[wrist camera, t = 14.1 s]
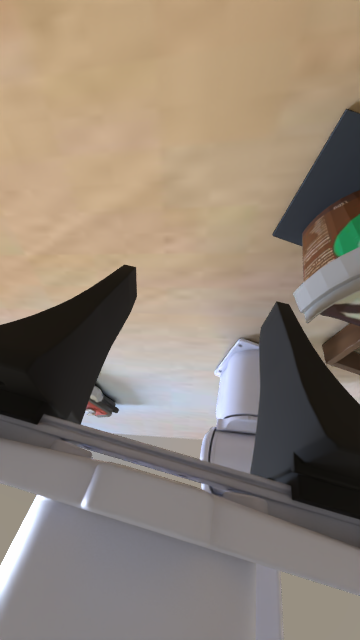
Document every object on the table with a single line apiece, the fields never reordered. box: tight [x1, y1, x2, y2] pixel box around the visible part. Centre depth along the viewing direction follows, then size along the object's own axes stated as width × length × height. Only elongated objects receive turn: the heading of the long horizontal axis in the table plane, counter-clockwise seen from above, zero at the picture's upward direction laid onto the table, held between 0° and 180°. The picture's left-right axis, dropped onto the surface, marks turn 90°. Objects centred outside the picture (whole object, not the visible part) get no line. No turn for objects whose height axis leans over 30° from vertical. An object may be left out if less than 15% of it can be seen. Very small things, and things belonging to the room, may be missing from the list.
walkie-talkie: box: [86, 386, 119, 417], centre depth 51 cm, size 9×4×20 cm
